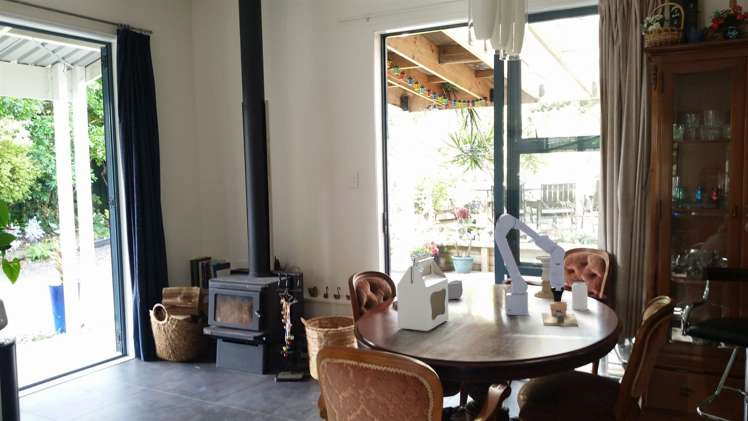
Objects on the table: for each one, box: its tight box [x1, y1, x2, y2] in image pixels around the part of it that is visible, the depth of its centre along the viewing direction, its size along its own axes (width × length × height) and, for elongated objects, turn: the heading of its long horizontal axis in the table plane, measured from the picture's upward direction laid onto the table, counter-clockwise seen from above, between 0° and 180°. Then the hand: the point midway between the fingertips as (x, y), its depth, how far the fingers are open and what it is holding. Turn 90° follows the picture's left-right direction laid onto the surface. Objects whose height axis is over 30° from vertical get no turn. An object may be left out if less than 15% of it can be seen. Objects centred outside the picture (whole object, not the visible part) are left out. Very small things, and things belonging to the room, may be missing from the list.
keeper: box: [549, 301, 568, 316], centre depth 235 cm, size 6×5×5 cm
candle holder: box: [533, 255, 554, 299], centre depth 277 cm, size 12×12×20 cm
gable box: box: [396, 253, 450, 332], centre depth 230 cm, size 22×13×28 cm, turn 151°
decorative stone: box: [448, 279, 464, 300], centre depth 278 cm, size 15×7×10 cm
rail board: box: [541, 310, 579, 327], centre depth 229 cm, size 13×18×4 cm
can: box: [571, 281, 589, 311], centre depth 249 cm, size 6×6×12 cm
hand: (557, 304), depth 242 cm, fingers closed
